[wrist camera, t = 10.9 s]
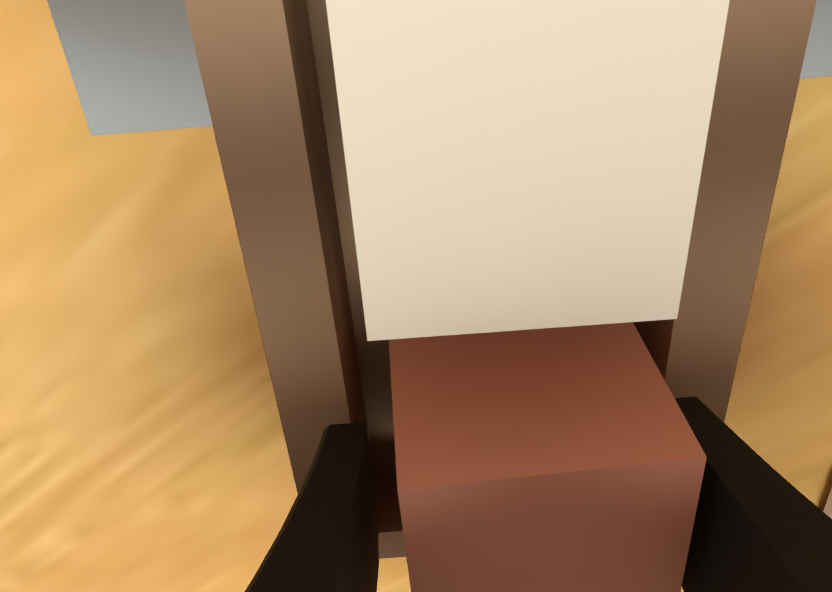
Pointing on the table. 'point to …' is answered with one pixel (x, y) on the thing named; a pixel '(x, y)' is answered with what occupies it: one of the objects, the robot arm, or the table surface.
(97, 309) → the table surface
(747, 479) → the robot arm
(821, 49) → the jig
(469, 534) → the block
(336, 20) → the cream rectangular block
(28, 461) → the table surface
